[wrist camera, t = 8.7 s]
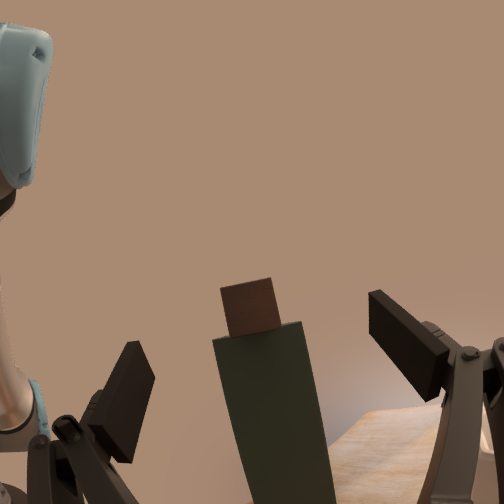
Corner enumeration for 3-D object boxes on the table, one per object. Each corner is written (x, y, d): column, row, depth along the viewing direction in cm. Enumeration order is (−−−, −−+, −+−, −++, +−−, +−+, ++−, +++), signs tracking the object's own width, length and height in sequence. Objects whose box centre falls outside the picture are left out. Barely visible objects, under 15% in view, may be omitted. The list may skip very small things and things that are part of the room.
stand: (270, 552, 18) (211, 339, 25) (268, 510, 27) (224, 336, 34) (341, 537, 18) (301, 320, 25) (325, 498, 28) (289, 322, 34)
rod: (229, 338, 16) (219, 287, 17) (245, 331, 37) (241, 309, 38) (282, 327, 16) (270, 276, 17) (268, 327, 37) (263, 305, 38)
